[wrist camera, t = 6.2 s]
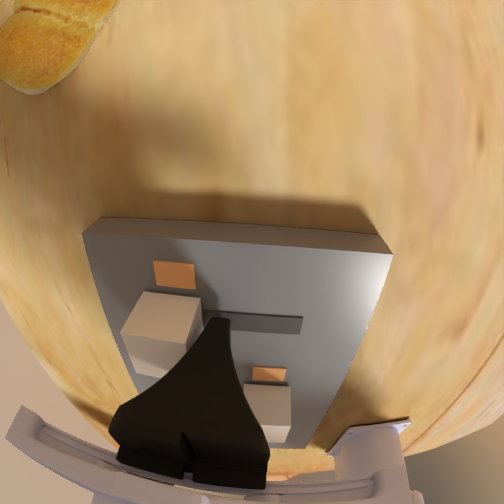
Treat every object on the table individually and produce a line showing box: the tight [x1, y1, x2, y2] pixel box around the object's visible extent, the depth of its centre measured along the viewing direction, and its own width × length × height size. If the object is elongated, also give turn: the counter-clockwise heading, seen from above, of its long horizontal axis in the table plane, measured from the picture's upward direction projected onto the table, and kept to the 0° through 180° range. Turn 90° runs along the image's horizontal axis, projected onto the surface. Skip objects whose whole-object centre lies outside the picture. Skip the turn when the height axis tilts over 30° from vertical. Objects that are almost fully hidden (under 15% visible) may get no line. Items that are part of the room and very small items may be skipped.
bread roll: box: [0, 0, 120, 95], centre depth 6 cm, size 8×9×4 cm
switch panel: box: [82, 217, 393, 449], centre depth 18 cm, size 23×15×2 cm, turn 177°
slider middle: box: [243, 384, 291, 443], centre depth 16 cm, size 3×3×3 cm
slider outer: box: [120, 291, 203, 378], centre depth 13 cm, size 3×3×3 cm
